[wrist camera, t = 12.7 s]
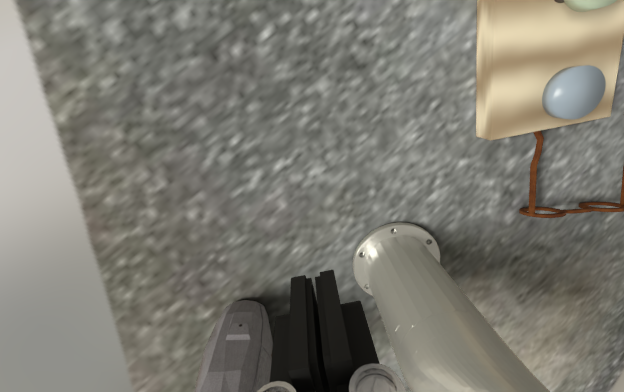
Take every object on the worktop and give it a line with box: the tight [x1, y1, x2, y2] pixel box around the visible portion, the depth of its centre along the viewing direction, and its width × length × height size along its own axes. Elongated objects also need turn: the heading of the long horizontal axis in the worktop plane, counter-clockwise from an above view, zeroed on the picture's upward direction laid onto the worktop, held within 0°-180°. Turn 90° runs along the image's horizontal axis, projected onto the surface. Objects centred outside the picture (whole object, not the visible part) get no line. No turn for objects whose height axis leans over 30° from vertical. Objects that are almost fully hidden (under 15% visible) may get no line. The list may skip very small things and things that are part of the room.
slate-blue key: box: [542, 65, 606, 119], centre depth 30 cm, size 5×5×2 cm
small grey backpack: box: [195, 300, 273, 392], centre depth 36 cm, size 15×8×20 cm, turn 1°
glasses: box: [519, 131, 624, 218], centre depth 37 cm, size 13×13×5 cm
